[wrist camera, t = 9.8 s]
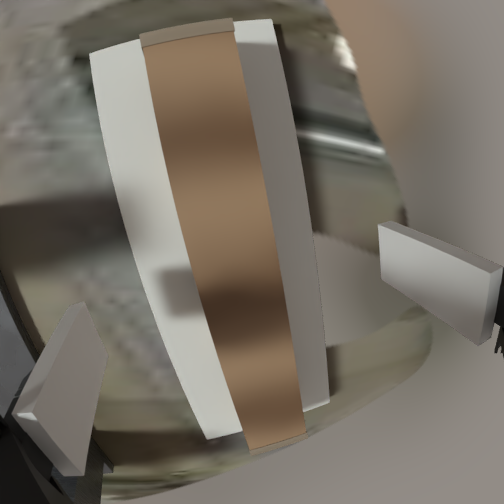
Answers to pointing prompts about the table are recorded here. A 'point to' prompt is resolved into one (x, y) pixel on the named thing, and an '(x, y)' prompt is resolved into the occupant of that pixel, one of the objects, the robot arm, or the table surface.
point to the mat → (169, 231)
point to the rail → (226, 222)
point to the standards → (6, 385)
